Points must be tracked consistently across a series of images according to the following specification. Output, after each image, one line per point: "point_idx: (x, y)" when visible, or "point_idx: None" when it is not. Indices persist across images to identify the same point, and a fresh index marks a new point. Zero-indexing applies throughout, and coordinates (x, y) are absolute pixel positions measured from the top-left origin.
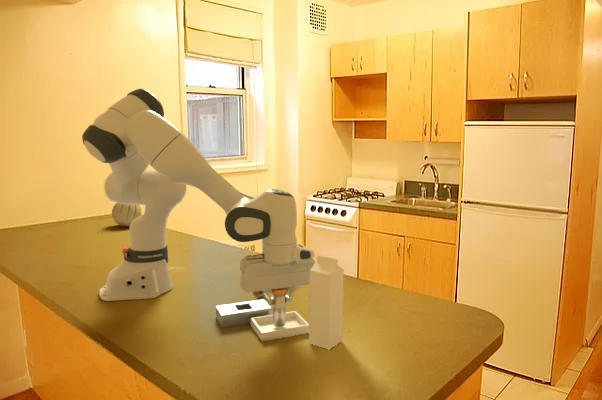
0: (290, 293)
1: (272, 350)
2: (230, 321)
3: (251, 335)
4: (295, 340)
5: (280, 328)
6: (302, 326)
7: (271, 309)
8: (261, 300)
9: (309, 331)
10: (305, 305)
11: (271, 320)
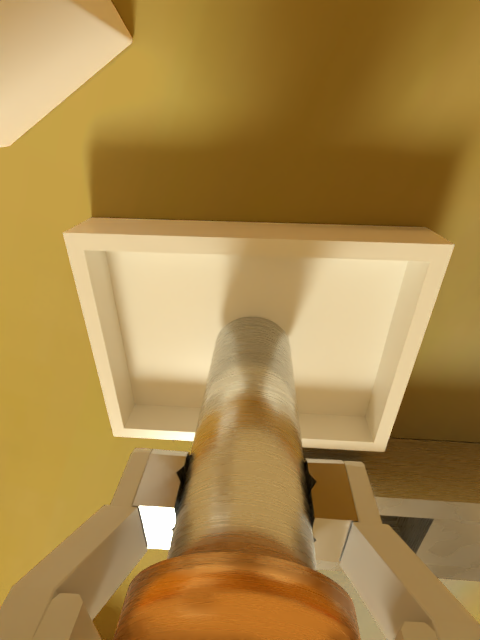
0: (102, 547)
1: (445, 48)
2: (475, 464)
3: (430, 324)
4: (214, 149)
5: None
6: (122, 233)
7: None
8: None
9: (86, 5)
10: (53, 484)
11: None
